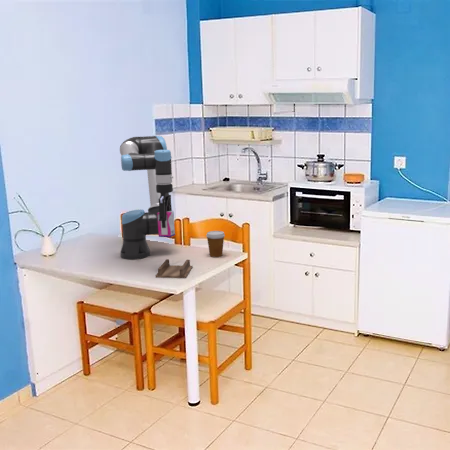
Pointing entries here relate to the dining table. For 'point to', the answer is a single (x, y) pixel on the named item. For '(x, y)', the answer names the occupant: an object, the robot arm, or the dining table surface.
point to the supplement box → (169, 224)
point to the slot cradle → (174, 270)
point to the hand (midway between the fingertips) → (166, 232)
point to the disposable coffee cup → (215, 243)
